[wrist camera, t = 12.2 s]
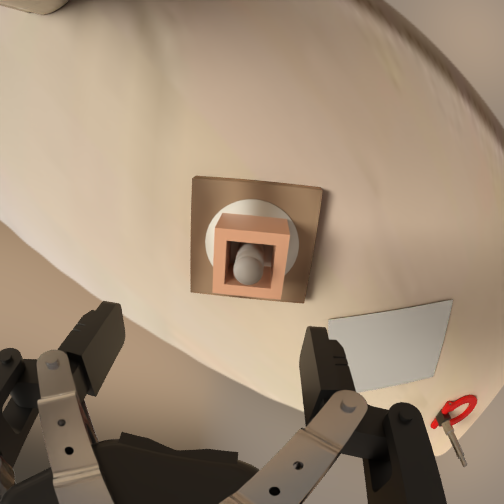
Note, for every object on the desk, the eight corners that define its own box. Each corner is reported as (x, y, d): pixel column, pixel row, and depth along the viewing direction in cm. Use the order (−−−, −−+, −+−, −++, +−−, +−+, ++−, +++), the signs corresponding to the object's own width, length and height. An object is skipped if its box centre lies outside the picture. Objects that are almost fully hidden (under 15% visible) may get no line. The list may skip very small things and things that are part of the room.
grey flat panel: (324, 240, 32) (325, 242, 31) (506, 221, 29) (510, 223, 28) (326, 393, 40) (327, 397, 40) (473, 361, 38) (475, 364, 37)
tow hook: (481, 390, 41) (447, 397, 41) (510, 439, 29) (476, 453, 29) (460, 418, 44) (426, 426, 44) (483, 466, 33) (448, 479, 32)
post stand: (193, 285, 34) (174, 329, 26) (195, 175, 29) (170, 194, 22) (302, 296, 34) (310, 343, 26) (320, 187, 29) (338, 209, 22)
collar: (219, 270, 31) (212, 292, 27) (222, 212, 29) (214, 227, 25) (279, 276, 31) (280, 299, 27) (287, 218, 29) (290, 234, 25)
